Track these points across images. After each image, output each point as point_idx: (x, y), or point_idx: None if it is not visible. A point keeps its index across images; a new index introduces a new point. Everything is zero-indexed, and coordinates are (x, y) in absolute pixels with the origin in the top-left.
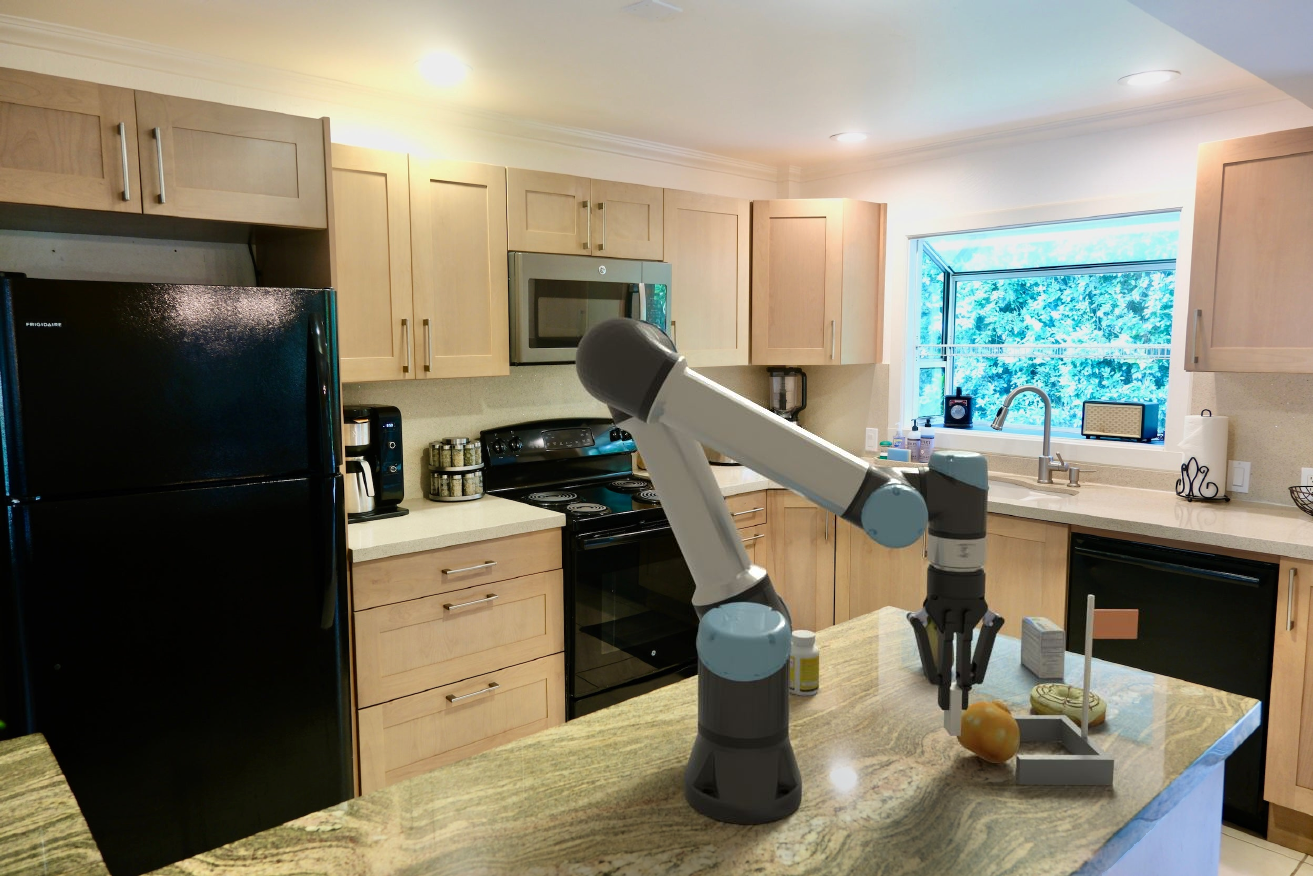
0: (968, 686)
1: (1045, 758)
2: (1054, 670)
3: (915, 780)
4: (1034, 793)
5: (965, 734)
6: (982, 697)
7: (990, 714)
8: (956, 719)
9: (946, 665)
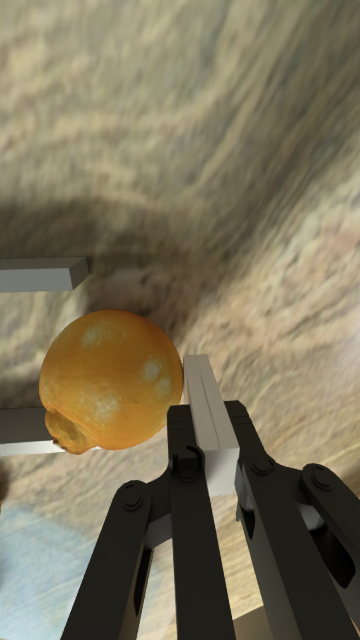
0: (182, 463)
1: (2, 274)
2: None
3: (280, 267)
4: (62, 223)
5: (175, 353)
6: (75, 518)
7: (108, 388)
8: (199, 379)
9: (308, 572)
